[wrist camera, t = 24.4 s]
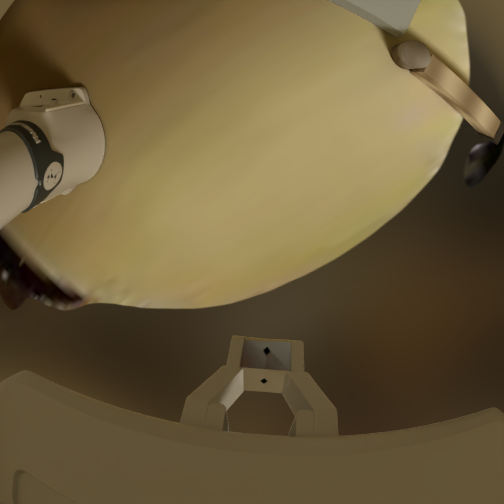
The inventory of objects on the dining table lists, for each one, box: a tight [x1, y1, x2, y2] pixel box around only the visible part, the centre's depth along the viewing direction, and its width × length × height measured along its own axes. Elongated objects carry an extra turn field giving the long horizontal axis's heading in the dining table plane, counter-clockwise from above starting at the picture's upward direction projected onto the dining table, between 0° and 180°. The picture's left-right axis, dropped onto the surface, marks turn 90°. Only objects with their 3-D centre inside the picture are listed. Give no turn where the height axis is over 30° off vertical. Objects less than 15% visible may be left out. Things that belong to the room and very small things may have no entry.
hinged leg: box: [391, 40, 504, 144], centre depth 25 cm, size 19×4×4 cm, turn 67°
